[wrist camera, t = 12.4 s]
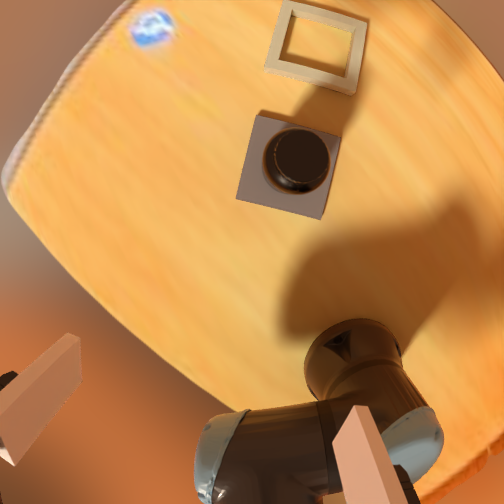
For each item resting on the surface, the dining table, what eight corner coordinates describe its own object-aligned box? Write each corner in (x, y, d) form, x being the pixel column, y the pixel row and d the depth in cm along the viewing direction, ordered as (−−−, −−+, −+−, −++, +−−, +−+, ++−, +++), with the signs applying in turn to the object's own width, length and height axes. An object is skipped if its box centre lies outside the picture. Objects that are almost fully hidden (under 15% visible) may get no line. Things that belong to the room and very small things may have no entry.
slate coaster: (338, 138, 37) (340, 137, 36) (319, 219, 39) (320, 220, 38) (256, 116, 36) (256, 114, 35) (236, 198, 39) (235, 198, 38)
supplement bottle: (322, 186, 37) (349, 186, 25) (270, 200, 38) (274, 205, 26) (307, 134, 36) (327, 111, 24) (254, 147, 36) (252, 129, 25)
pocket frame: (363, 28, 33) (367, 23, 31) (351, 96, 35) (355, 92, 33) (282, 6, 33) (283, -1, 31) (264, 72, 35) (264, 66, 33)
